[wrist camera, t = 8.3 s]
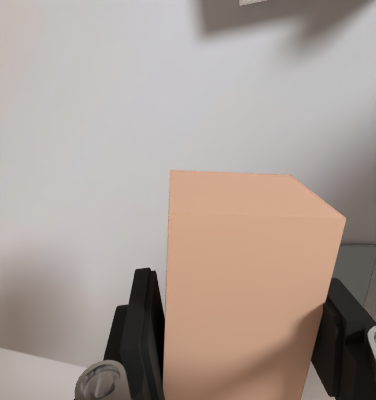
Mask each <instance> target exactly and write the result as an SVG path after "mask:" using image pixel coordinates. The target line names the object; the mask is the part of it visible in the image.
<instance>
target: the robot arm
mask: <svg viewBox="0 0 376 400" xmlns="http://www.w3.org/2000/svg"><path fill="white" fill-rule="evenodd" d="M164 334H165V318H164V313H163V307H162V302H161V296H160V291H159V285H158V280H157V275H156V271H151V269H150V268H142V269H136V270H135V274H134V279H133V284H132V289H131V294H130V299H129V304H128V305H121V306H117V308H116V311H115V315H114V319H113V323H112V327H111V331H110V335H109V339H108V343H107V347H106V351H105V355H104V359H103V361H100V362H98V363H95V364H93V365H91V366H90V367H89V368H88V369H86V370H85V371H84V372H83V373H82V375H81V376H80V377H79V379H78V381H77V383H76V387H75V399H74V400H165V397H164V392H163V366H164ZM311 362H312V364H313V366H314V368H315V370H316V372H317V374H318V376H319V378H320V380H321V382H322V384H323V386H324V388H325V390H326V392H327V393H328V395H329V396H330V397H335V399H336V400H376V322H375V321H374V320H373V318H372V317H371V316H370V315H369V314H368V313H367V311H366V310H365V309H364V308H363V307H362V306H361V304H360V303H359V302H358V301H357V300H356V298H355V297H354V296H353V295H352V294H351V293H350V291H349V290H348V289H347V288H346V287H345V286H344V284H343V283H342V282H341V281H340V280H339V279H338V278H333V277H332V278H331V282H330V285H329V289H328V293H327V297H326V301H325V303H323V313H322V317H321V321H320V325H319V329H318V333H317V337H316V341H315V345H314V349H313V353H312V357H311Z"/></svg>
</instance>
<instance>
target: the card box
mask: <svg viewBox="0 0 376 400" xmlns="http://www.w3.org/2000/svg"><path fill="white" fill-rule="evenodd" d="M345 222H346V218H345V217H344V216H343V215H342V214H340V213H339V212H338V211H336V210H335V209H334V208H332V207H331V206H330V205H329V204H327V203H326V202H325V201H323V200H322V199H321V198H320V197H318V196H317V195H316V194H314V193H313V192H312V191H311V190H309V189H308V188H307V187H305V186H304V185H303V184H302V183H300V182H299V181H298V180H296V179H295V178H294V177H293V176H291V175H278V174H253V173H229V172H204V171H180V170H170V191H169V219H168V247H167V275H166V303H165V334H164V366H163V392H164V397H165V400H301V396H302V392H303V388H304V384H305V380H306V377H307V373H308V369H309V365H310V361H311V357H312V353H313V349H314V345H315V341H316V337H317V333H318V329H319V325H320V321H321V317H322V313H323V303H325V301H326V297H327V293H328V289H329V285H330V282H331V278H332V274H333V270H334V266H335V262H336V258H337V254H338V250H339V246H340V242H341V238H342V234H343V230H344V226H345Z"/></svg>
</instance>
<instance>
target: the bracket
mask: <svg viewBox="0 0 376 400" xmlns="http://www.w3.org/2000/svg"><path fill="white" fill-rule="evenodd" d="M261 1H266V0H239V4H240V6H242V5H246V4H251V3H256V2H261Z"/></svg>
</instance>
